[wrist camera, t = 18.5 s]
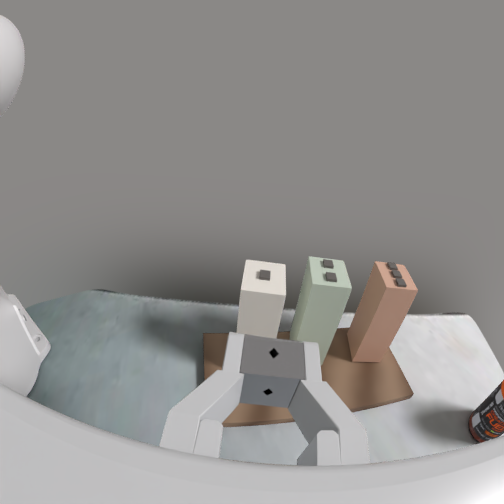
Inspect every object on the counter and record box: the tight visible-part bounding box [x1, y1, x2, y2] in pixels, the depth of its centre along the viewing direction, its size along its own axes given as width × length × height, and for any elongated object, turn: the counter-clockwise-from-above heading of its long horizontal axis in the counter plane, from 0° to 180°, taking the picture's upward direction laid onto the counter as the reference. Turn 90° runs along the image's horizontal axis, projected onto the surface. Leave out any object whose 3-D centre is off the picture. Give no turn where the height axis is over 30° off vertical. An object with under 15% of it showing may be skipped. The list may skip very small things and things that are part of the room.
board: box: [203, 328, 414, 427], centre depth 35 cm, size 25×13×1 cm, turn 97°
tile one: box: [237, 260, 286, 338], centre depth 32 cm, size 5×4×12 cm
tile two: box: [290, 257, 352, 365], centre depth 34 cm, size 5×4×12 cm
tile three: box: [347, 261, 418, 362], centre depth 35 cm, size 5×4×12 cm
